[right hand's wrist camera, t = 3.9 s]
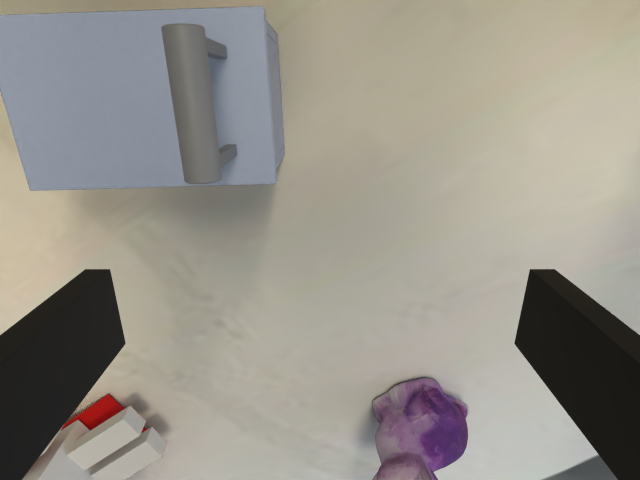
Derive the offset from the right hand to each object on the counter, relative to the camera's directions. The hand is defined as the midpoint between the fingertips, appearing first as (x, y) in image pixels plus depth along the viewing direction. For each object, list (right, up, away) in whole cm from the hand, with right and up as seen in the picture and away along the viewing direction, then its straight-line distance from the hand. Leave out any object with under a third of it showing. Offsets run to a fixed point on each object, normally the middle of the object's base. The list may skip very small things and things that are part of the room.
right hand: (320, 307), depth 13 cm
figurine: (+11, -18, +35) cm, 41 cm away
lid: (-11, +11, +12) cm, 20 cm away
